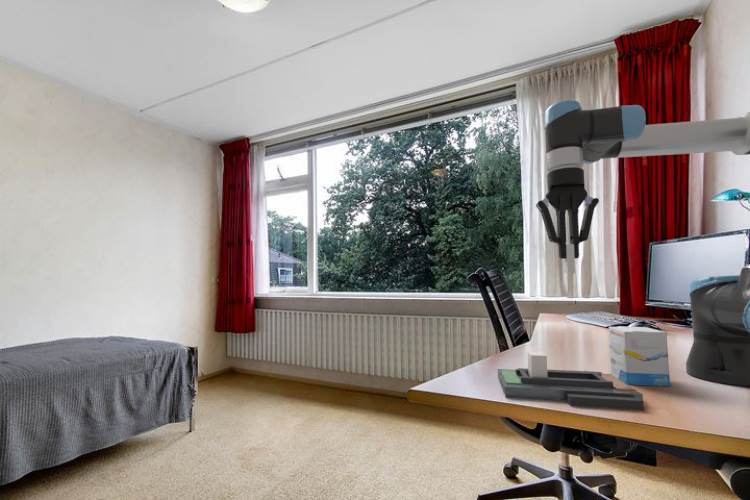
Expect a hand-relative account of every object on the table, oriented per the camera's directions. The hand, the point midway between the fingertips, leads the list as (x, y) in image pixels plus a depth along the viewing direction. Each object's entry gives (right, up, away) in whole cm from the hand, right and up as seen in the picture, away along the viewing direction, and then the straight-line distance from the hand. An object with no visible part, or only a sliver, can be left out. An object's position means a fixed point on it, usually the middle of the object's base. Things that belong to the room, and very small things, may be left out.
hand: (569, 273), depth 82 cm
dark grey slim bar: (-1, -25, +3) cm, 25 cm away
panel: (-5, -24, -6) cm, 25 cm away
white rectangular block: (-9, -22, -5) cm, 24 cm away
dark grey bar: (-2, -23, -15) cm, 28 cm away
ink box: (+16, -25, +1) cm, 30 cm away
